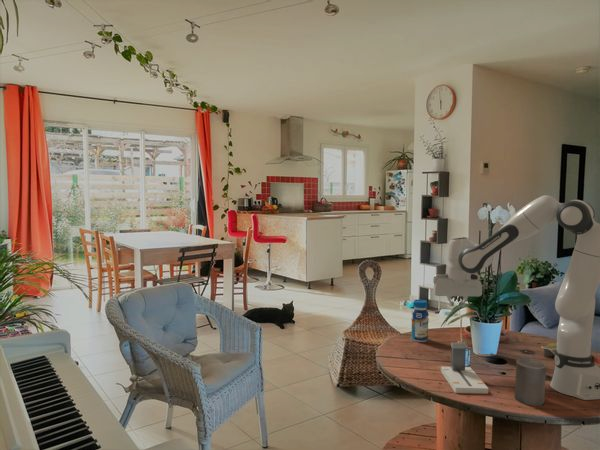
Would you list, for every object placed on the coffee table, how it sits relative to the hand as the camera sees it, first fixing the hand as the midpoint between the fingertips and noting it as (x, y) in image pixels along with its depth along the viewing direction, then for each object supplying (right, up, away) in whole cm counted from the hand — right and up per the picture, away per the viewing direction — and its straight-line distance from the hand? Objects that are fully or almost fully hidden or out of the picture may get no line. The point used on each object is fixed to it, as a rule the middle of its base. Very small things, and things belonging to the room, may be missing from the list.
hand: (457, 306), depth 201 cm
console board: (-4, -27, -19) cm, 33 cm away
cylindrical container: (+16, -25, +13) cm, 32 cm away
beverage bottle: (-8, -23, +33) cm, 41 cm away
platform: (+47, -25, +10) cm, 54 cm away
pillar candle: (+14, -28, -35) cm, 47 cm away
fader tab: (-4, -24, -12) cm, 27 cm away
